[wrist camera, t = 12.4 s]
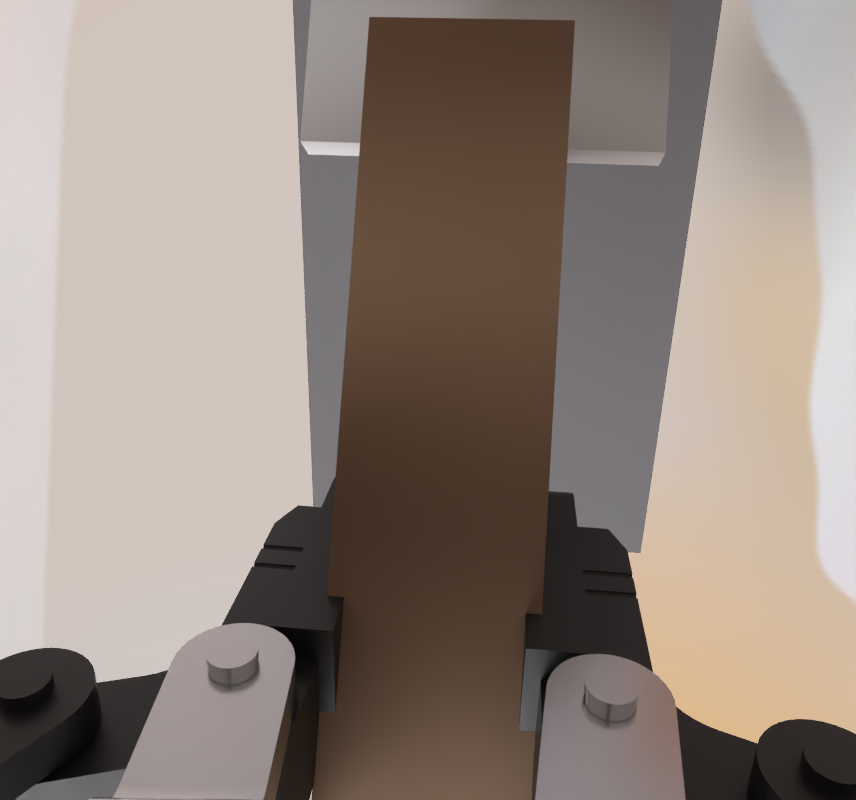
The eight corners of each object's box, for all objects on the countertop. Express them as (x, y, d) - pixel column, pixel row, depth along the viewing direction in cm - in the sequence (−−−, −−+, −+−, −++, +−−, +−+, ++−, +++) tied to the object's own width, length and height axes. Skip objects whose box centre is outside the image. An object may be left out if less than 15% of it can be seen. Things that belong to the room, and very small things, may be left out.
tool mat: (288, -261, 20) (282, -269, 19) (755, -266, 19) (763, -275, 18) (318, 518, 29) (314, 528, 28) (637, 542, 28) (640, 552, 27)
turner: (623, 907, 13) (690, 1145, 8) (253, 864, 13) (130, 1066, 9) (679, -281, 14) (762, -620, 10) (342, -275, 15) (273, -594, 10)
